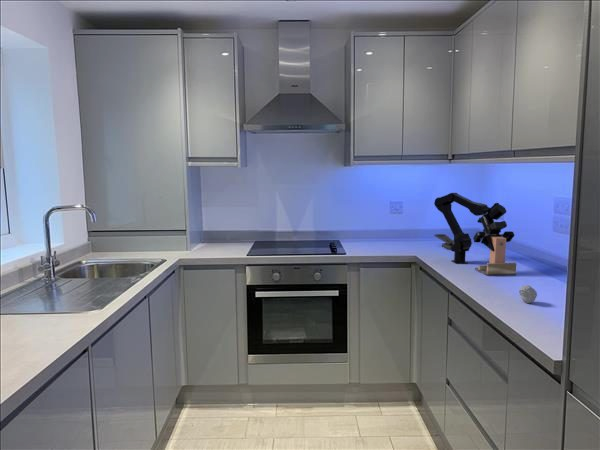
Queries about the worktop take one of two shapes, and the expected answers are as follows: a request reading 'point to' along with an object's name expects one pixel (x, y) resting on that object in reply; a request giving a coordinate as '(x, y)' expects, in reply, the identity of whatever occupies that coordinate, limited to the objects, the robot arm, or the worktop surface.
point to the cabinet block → (498, 250)
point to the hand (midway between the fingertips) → (499, 250)
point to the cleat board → (497, 269)
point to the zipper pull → (446, 239)
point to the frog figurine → (527, 294)
